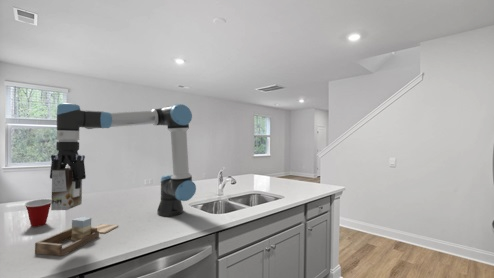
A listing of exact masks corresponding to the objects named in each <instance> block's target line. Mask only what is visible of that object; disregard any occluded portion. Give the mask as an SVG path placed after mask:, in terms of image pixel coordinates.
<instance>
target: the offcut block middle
mask: <svg viewBox="0 0 494 278" xmlns="http://www.w3.org/2000/svg"><path fill="white" fill-rule="evenodd" d="M91 227H92V224H91V225H89V226H87V227H84V228H80V227H72V226H71V228H72V233H73V234H82V235H84V234H86V233H88V232H90V231H91Z"/></svg>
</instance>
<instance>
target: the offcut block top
mask: <svg viewBox="0 0 494 278" xmlns="http://www.w3.org/2000/svg"><path fill="white" fill-rule="evenodd" d="M89 225H91V226H92V217H84V216H80V217H77V218H73V219H71V228H72V227H80V228H84V227H87V226H89Z"/></svg>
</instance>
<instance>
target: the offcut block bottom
mask: <svg viewBox="0 0 494 278" xmlns="http://www.w3.org/2000/svg"><path fill="white" fill-rule="evenodd" d="M90 234H91V231H90V232H88V233H86V234H84V235H82V234H73V233H71V238H70V240H71V241H74V242H76V241H78V240H80V239H82V238H84V237H86V236H88V235H90Z"/></svg>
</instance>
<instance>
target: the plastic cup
mask: <svg viewBox="0 0 494 278" xmlns="http://www.w3.org/2000/svg"><path fill="white" fill-rule="evenodd" d="M51 200H52V198H51V199H50V198H45V199H44V198H41V199H40V198H39V199H36V200H35V199H34V200H31V201H28V202H26V203H24V206H25V208H26V210H27V215H28V216H27V217H28V219H29V225H30V226H31V227H34V228H36V227H41V226H45V225H46V224H47V220H48V218H49V213H50V208H51Z"/></svg>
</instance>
